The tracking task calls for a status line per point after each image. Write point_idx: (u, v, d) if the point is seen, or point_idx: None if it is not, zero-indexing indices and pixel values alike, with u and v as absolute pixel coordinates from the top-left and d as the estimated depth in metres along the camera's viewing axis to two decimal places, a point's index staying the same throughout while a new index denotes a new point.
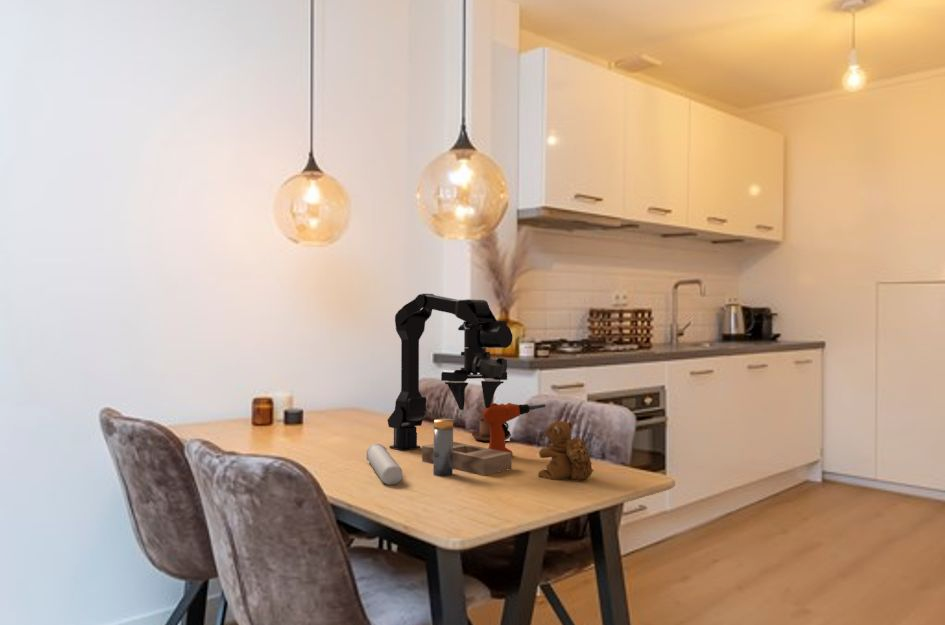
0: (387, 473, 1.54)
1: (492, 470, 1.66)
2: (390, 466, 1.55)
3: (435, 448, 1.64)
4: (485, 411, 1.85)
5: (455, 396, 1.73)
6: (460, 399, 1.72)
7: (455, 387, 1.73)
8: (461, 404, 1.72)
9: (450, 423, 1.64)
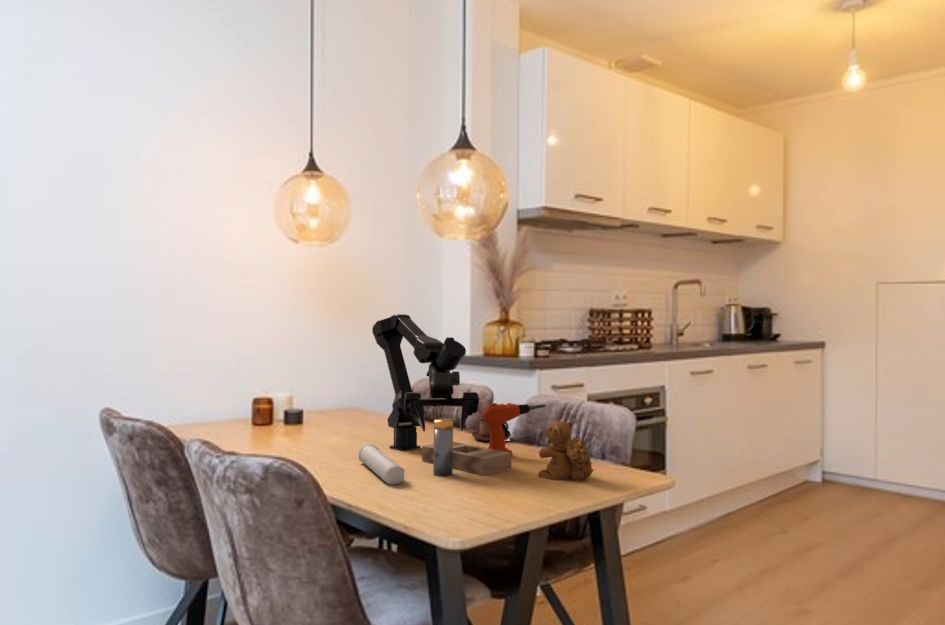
0: (390, 473, 1.54)
1: (492, 470, 1.66)
2: (393, 466, 1.55)
3: (435, 448, 1.64)
4: (485, 411, 1.85)
5: (418, 421, 1.71)
6: (420, 420, 1.69)
7: (418, 414, 1.72)
8: (421, 424, 1.68)
9: (450, 423, 1.64)
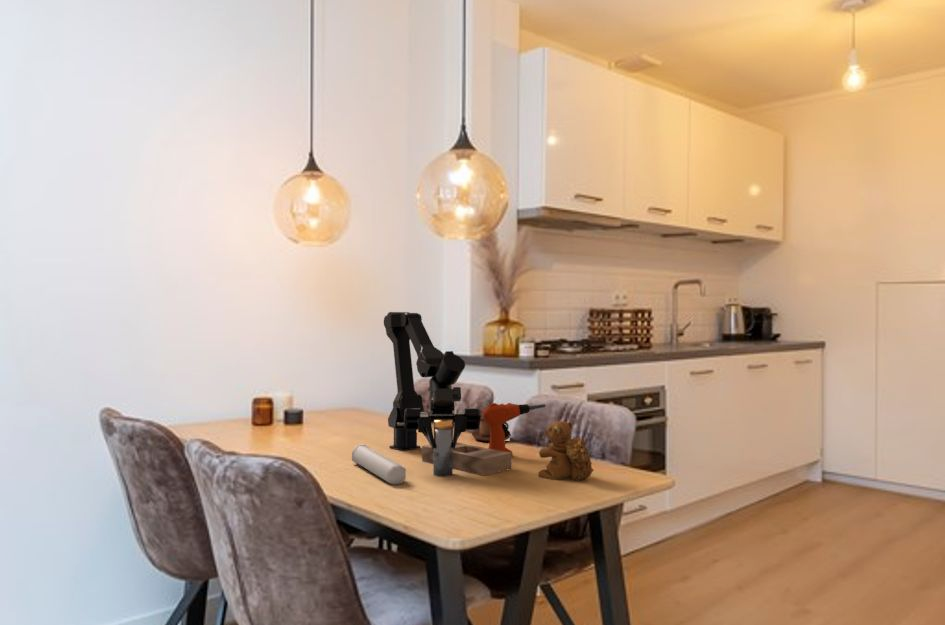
0: (393, 473, 1.54)
1: (492, 470, 1.66)
2: (395, 466, 1.55)
3: (435, 448, 1.64)
4: (485, 411, 1.85)
5: (427, 438, 1.67)
6: (429, 437, 1.65)
7: (426, 430, 1.68)
8: (430, 441, 1.64)
9: (450, 423, 1.64)
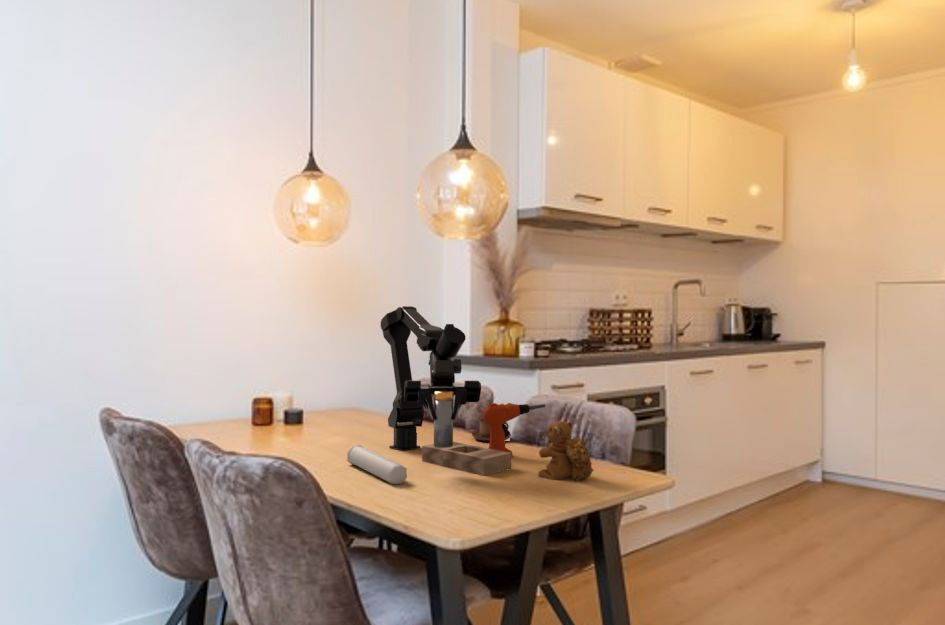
0: (395, 473, 1.54)
1: (492, 470, 1.66)
2: (396, 466, 1.55)
3: (435, 419, 1.64)
4: (485, 411, 1.85)
5: (428, 410, 1.67)
6: (429, 408, 1.65)
7: (427, 402, 1.68)
8: (431, 413, 1.64)
9: (450, 394, 1.64)
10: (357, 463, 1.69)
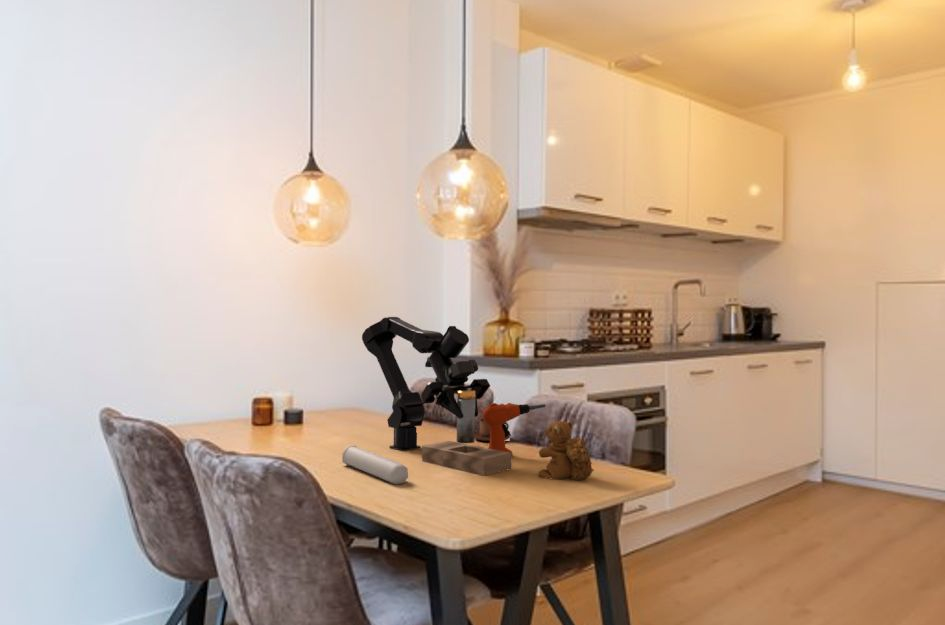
0: (397, 472, 1.54)
1: (492, 470, 1.66)
2: (398, 465, 1.55)
3: (462, 417, 1.73)
4: (485, 411, 1.85)
5: (450, 409, 1.75)
6: (454, 407, 1.73)
7: (446, 402, 1.76)
8: (458, 411, 1.73)
9: None
10: (354, 464, 1.68)
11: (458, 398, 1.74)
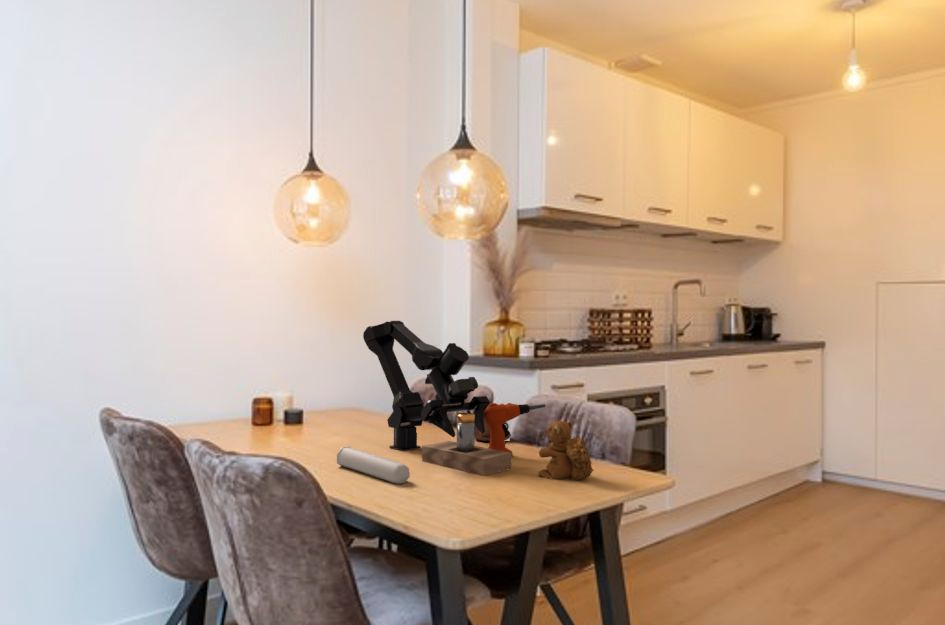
0: (399, 472, 1.55)
1: (492, 470, 1.66)
2: (399, 465, 1.56)
3: (462, 441, 1.73)
4: (485, 411, 1.85)
5: (443, 428, 1.73)
6: (447, 426, 1.72)
7: (439, 420, 1.74)
8: (451, 430, 1.72)
9: (474, 416, 1.75)
10: (350, 464, 1.67)
11: (458, 422, 1.74)
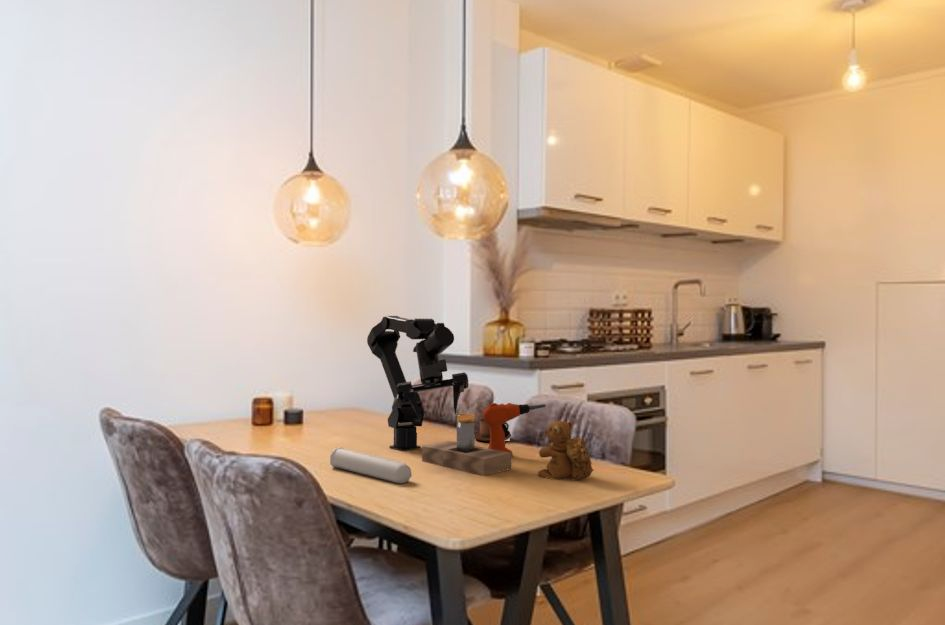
0: (402, 472, 1.55)
1: (492, 470, 1.66)
2: (402, 465, 1.56)
3: (462, 441, 1.73)
4: (485, 411, 1.85)
5: (414, 409, 1.80)
6: (415, 410, 1.78)
7: None
8: (417, 414, 1.78)
9: (474, 416, 1.75)
10: (346, 465, 1.66)
11: (458, 422, 1.74)
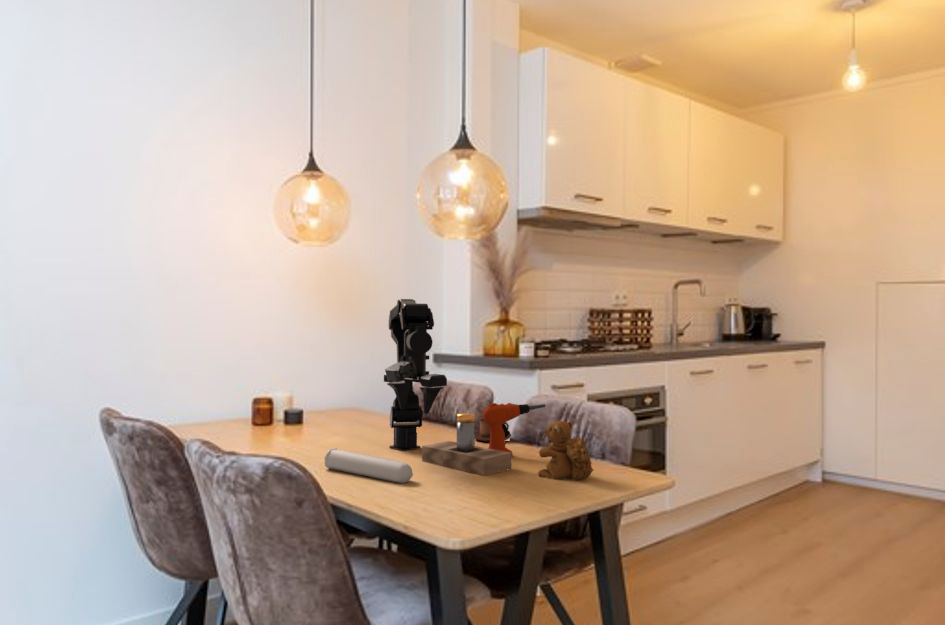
0: (404, 471, 1.55)
1: (492, 470, 1.66)
2: (403, 464, 1.57)
3: (462, 441, 1.73)
4: (485, 411, 1.85)
5: None
6: None
7: None
8: None
9: (474, 416, 1.75)
10: (342, 466, 1.65)
11: (458, 422, 1.74)
